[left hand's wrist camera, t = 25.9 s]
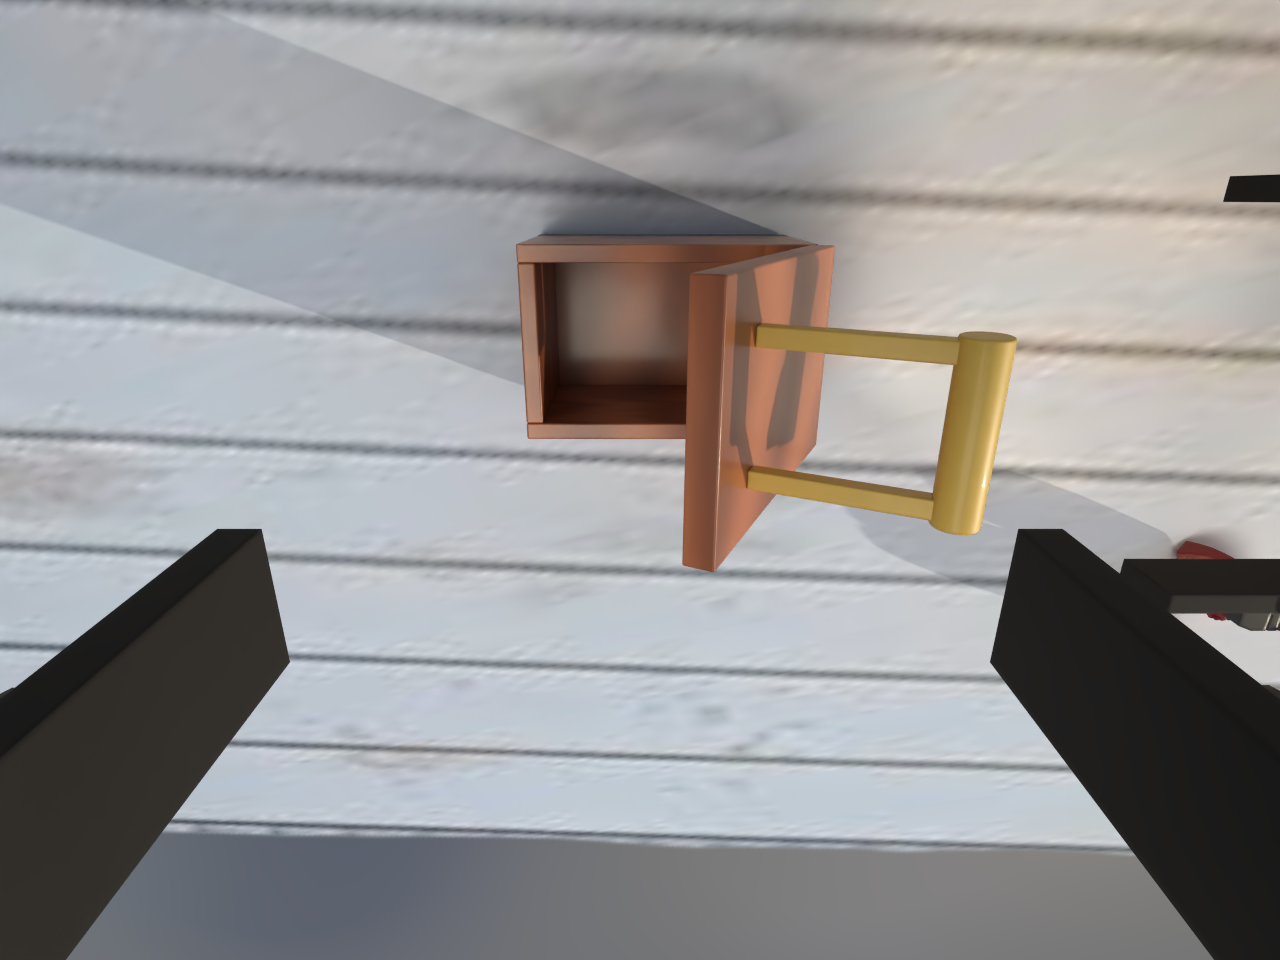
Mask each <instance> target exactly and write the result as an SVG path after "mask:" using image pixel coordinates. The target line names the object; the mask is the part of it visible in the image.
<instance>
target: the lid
mask: <svg viewBox="0 0 1280 960" xmlns="http://www.w3.org/2000/svg"><path fill="white" fill-rule="evenodd" d="M834 250H835V247H834V246H825V245H809V246H805V247H801V248H796V249H792V250H788V251H784V252H779V253H775V254H771V255H767V256H762V257H758V258H754V259H749V260H745V261H741V262H737V263H732V264H728V265H724V266H720V267H715V268H711V269H707V270H703V271H698V272H694V273H691V274H690V289H689V328H688V367H687V406H686V445H685V484H684V523H683V563H682V564H683V565H684V566H688V567H692V568H697V569H701V570H706V571H710V572H715V571H716V569H717V568H718V567H719V566H720V564H721V563H722V562H723V561H724V559H725V558H726V557H727V555H728V554H729V553H730V552H731V550H732V549H733V548H734V547H735V545H736V544H737V543H738V542H739V540H740V539H741V538H742V537H743V535H744V534H745V533H746V532H747V530H748V529H749V528H750V527H751V525H752V524H753V523H754V522H755V520H756V519H757V518H758V517H759V515H760V514H761V513H762V512H763V510H764V509H765V508H766V507H767V505H768V504H769V503H770V502H771V500H772V499H773V498H774V496H775V495H776V494H779V495H785V496H791V497H797V498H802V499H808V500H814V501H820V502H826V503H832V504H837V505H843V506H849V507H855V508H861V509H866V510H872V511H878V512H884V513H890V514H896V515H901V516H907V517H913V518H919V519H925V520H929V523H930V525H931V526H932V527H934V528H936V529H937V530H940V531H942V532H946V533H949V534H955V535H972V534H976V533H978V532H979V531H980V529H981V526H982V521H983V516H984V510H985V505H986V500H987V495H988V490H989V485H990V479H991V474H992V469H993V464H994V459H995V453H996V448H997V443H998V438H999V433H1000V428H1001V422H1002V417H1003V412H1004V407H1005V402H1006V396H1007V391H1008V386H1009V381H1010V376H1011V371H1012V365H1013V360H1014V355H1015V350H1016V345H1017V338H1016V337H1014V336H1011V335H1007V334H1002V333H995V332H965V333H961V334H959V336H958V337H947V336H934V335H920V334H907V333H893V332H880V331H866V330H853V329H839V328H827V323H828V313H829V302H830V292H831V281H832V271H833V261H834ZM825 354H836V355H847V356H858V357H870V358H881V359H892V360H904V361H915V362H926V363H937V364H949V365H954V366H953V372H952V378H951V384H950V390H949V396H948V403H947V409H946V415H945V421H944V427H943V433H942V439H941V446H940V452H939V458H938V464H937V470H936V476H935V482H934V489H933V493H928V492H922V491H916V490H909V489H903V488H897V487H890V486H884V485H878V484H871V483H865V482H858V481H852V480H846V479H839V478H833V477H827V476H820V475H814V474H808V473H801V472H795V470H796V469H797V468H798V466H799V465H800V464H801V463H802V461H803V460H804V459H805V458H806V456H807V455H808V454H809V453H810V451H811V450H812V449H813V448H814V446H815V445H816V438H817V428H818V417H819V407H820V397H821V386H822V376H823V365H824V355H825Z"/></svg>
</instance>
